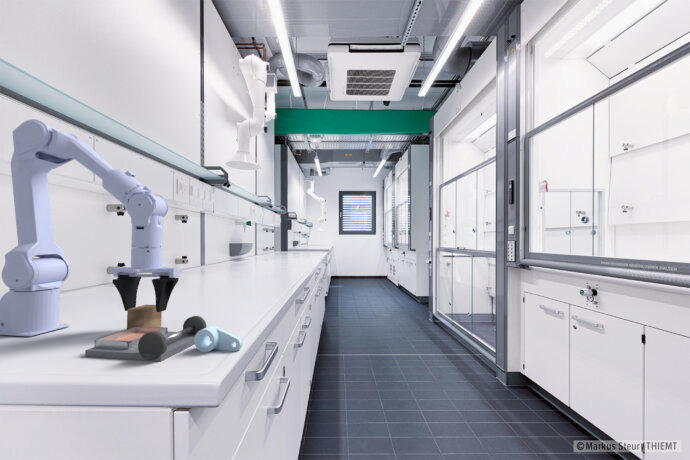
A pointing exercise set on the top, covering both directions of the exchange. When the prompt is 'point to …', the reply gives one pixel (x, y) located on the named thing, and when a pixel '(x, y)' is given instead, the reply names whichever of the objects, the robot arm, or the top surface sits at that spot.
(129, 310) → the block
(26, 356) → the top surface
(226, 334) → the mechanical part
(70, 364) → the top surface
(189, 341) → the chassis
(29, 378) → the top surface
